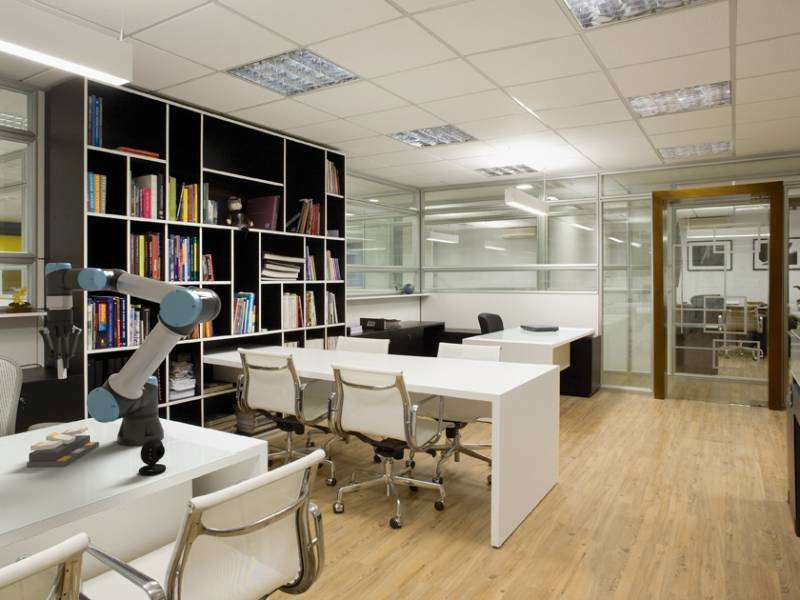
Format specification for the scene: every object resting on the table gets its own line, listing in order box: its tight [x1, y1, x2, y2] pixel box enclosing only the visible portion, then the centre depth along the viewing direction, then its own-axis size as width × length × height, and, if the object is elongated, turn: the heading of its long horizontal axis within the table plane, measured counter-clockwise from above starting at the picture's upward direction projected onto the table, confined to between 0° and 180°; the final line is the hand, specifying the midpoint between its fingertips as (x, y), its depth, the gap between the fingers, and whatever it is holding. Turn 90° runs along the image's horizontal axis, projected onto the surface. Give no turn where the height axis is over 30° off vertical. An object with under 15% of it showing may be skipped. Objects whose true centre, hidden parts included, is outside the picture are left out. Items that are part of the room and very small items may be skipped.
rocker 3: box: [59, 426, 89, 436], centre depth 187 cm, size 7×4×1 cm, turn 91°
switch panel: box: [26, 434, 100, 468], centre depth 180 cm, size 11×21×4 cm, turn 2°
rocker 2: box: [45, 431, 76, 444], centre depth 180 cm, size 7×4×1 cm, turn 92°
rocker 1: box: [30, 440, 62, 452], centre depth 172 cm, size 7×4×1 cm, turn 92°
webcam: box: [138, 438, 167, 477], centre depth 165 cm, size 8×8×10 cm
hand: (62, 378), depth 188 cm, fingers closed
